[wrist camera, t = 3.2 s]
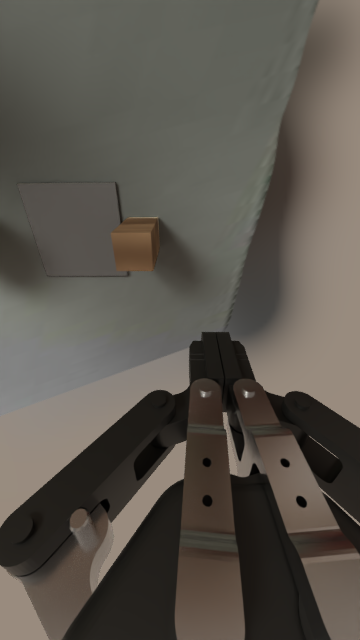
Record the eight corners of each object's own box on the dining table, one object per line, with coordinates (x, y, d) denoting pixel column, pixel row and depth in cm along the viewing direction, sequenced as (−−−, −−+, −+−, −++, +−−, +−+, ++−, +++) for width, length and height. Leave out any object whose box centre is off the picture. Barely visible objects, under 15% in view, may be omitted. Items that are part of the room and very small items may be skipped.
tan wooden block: (127, 217, 31) (110, 232, 24) (158, 217, 31) (150, 232, 24) (131, 247, 34) (116, 271, 26) (159, 247, 34) (153, 270, 26)
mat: (18, 183, 29) (16, 183, 29) (115, 182, 29) (114, 182, 29) (48, 275, 36) (47, 276, 36) (127, 274, 36) (127, 275, 35)
